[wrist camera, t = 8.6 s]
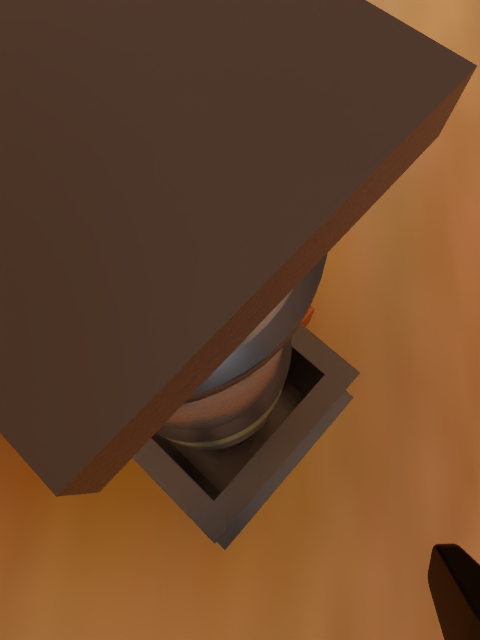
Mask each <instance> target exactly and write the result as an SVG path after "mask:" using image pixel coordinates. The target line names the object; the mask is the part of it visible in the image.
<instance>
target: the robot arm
mask: <svg viewBox="0 0 480 640" xmlns="http://www.w3.org/2000/svg"><path fill="white" fill-rule="evenodd" d="M428 583H429V588H430V591H431V595H432V598H433V602H434V605H435V609H436V612H437V616H438V619H439V623H440V626H441V629H442V633H443V636H444V640H480V565H479V564H478V563H477V562H476V561H475V560H474V559H473V558H472V557H471V556H470V555H469V554H467V553H466V552H465V551H464V550H463V549H462V548H461V547H460V546H458V545H456V544H436V545H435V546H434V547H433V549H432V554H431V559H430V564H429V570H428Z"/></svg>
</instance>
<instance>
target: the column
mask: <svg viewBox="0 0 480 640" xmlns="http://www.w3.org/2000/svg"><path fill="white" fill-rule="evenodd" d="M476 67H477V65H475V64H473V63H472V62H470V61H468V60H466V59H465V58H463V57H461V56H460V55H458V54H456V53H455V52H453V51H451V50H449V49H448V48H446V47H444V46H443V45H441V44H439V43H437V42H436V41H434V40H432V39H431V38H429V37H427V36H426V35H424V34H422V33H420V32H419V31H417V30H415V29H414V28H412V27H410V26H408V25H407V24H405V23H403V22H402V21H400V20H398V19H397V18H395V17H393V16H391V15H390V14H388V13H386V12H385V11H383V10H381V9H379V8H378V7H376V6H374V5H373V4H371V3H369V2H368V1H366V0H0V433H1V434H2V435H3V436H4V437H5V439H6V440H7V441H8V442H9V443H10V444H11V445H12V447H13V448H14V449H15V450H16V451H17V452H18V453H19V455H20V456H21V457H22V458H23V459H24V460H25V461H26V462H27V464H28V465H29V466H30V467H31V468H32V469H33V470H34V472H35V473H36V474H37V475H38V476H39V477H40V478H41V480H42V481H43V482H44V483H45V484H46V485H47V486H48V488H49V489H50V490H51V491H52V492H53V493H54V494H55V496H66V495H76V494H87V493H97V492H100V491H101V490H102V489H103V488H104V487H105V486H106V485H107V484H108V483H109V482H110V480H111V479H112V478H113V477H114V476H115V475H116V474H117V473H118V472H119V471H120V470H121V469H122V468H123V467H124V466H125V465H126V464H127V463H128V462H129V461H130V459H131V458H132V457H133V456H134V455H135V454H136V453H137V452H138V451H139V450H140V449H141V448H142V447H143V446H144V445H145V444H146V443H147V442H148V441H149V440H150V438H151V437H152V436H153V435H154V434H158V435H160V436H162V437H164V438H166V439H168V440H171V441H173V442H175V443H177V444H179V445H182V446H185V447H188V448H192V449H198V450H218V449H223V448H227V447H231V446H234V445H236V444H239V443H241V442H243V441H244V440H246V439H248V438H249V437H251V436H252V435H253V434H255V433H256V432H257V431H258V430H259V429H260V428H261V427H262V426H263V425H264V424H265V423H266V422H267V420H268V419H269V418H270V416H271V414H272V413H273V411H274V409H275V407H276V405H277V402H278V400H279V397H280V394H281V391H282V388H283V385H284V382H285V380H286V377H287V374H288V370H289V366H290V361H291V353H292V346H291V337H292V335H293V334H294V333H295V332H296V330H297V329H298V327H299V325H300V324H301V322H302V320H303V319H304V317H305V315H306V314H307V312H308V310H309V308H310V305H311V303H312V301H313V298H314V296H315V294H316V291H317V288H318V286H319V283H320V280H321V277H322V273H323V269H324V265H325V261H326V258H327V253H328V252H329V251H330V250H331V248H332V247H333V246H334V245H335V244H336V243H337V242H338V241H339V240H340V239H341V238H342V237H343V236H344V235H345V234H346V233H347V232H348V231H349V230H350V229H351V227H352V226H353V225H354V224H355V223H356V222H357V221H358V220H359V219H360V218H361V217H362V216H363V215H364V214H365V213H366V212H367V211H368V210H369V209H370V208H371V206H372V205H373V204H374V203H375V202H376V201H377V200H378V199H379V198H380V197H381V196H382V195H383V194H384V193H385V192H386V191H387V190H388V189H389V188H390V187H391V185H392V184H393V183H394V182H395V181H396V180H397V179H398V178H399V177H400V176H401V175H402V174H403V173H404V172H405V171H406V170H407V169H408V168H409V167H410V166H411V164H412V163H413V162H414V161H415V160H416V159H417V158H418V157H419V156H420V155H421V154H422V153H423V152H424V151H425V150H426V149H427V148H428V147H429V146H430V145H431V144H432V142H433V141H434V140H435V139H436V138H437V137H438V136H439V134H440V133H441V131H442V129H443V127H444V125H445V123H446V122H447V120H448V118H449V116H450V114H451V112H452V111H453V109H454V107H455V105H456V103H457V102H458V100H459V98H460V96H461V94H462V92H463V91H464V89H465V87H466V85H467V83H468V81H469V80H470V78H471V76H472V74H473V72H474V71H475V69H476Z"/></svg>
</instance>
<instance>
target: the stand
mask: <svg viewBox="0 0 480 640" xmlns="http://www.w3.org/2000/svg"><path fill="white" fill-rule="evenodd" d="M313 312H314V308H313V307H312V306H310V308H309V310H308V312H307V314H306V315H305V317H304V319H303V320H302V322H301V324H300V325H299V327H298V329H297V330H296V332H295V333H294V334H293V335H292V337H291V346H292V353H291V361H290V366H289V370H288V374H287V377H286V380H285V382H284V385H283V388H282V391H281V394H280V397H279V400H278V402H277V405H276V407H275V409H274V411H273V413H272V414H271V416H270V418H269V419H268V420H267V422H266V423H265V424H264V425H263V426H262V427H261V428H260V429H259V430H258V431H257V432H256V433H255V434H253V435H252V436H251V437H249V438H248V439H246V440H244V441H243V442H241V443H239V444H236V445H234V446H231V447H227V448H223V449H218V450H198V449H192V448H188V447H185V446H182V445H179V444H177V443H175V442H173V441H171V440H168V439H166V438H164V437H162V436H160V435H158V434H154V435H153V436H152V437H151V438H150V440H149V441H148V442H147V443H146V444H145V445H144V446H143V447H142V448H141V449H140V450H139V451H138V452H137V453H136V454H135V455H134V456H133V457H132V458H133V459H134V460H135V461H136V462H137V463H138V464H139V465H140V466H141V467H142V468H143V469H144V470H145V471H146V472H147V473H148V474H149V475H150V477H151V478H152V479H153V480H154V481H155V482H156V483H157V484H158V485H159V486H160V487H161V488H162V489H163V490H164V491H165V492H166V493H167V494H168V495H169V496H170V497H171V498H172V499H173V501H174V502H175V503H176V504H177V505H178V506H179V507H180V508H181V509H182V510H183V511H184V512H185V513H186V514H187V515H188V516H189V517H190V518H191V519H192V520H193V521H194V522H195V523H196V524H197V526H198V527H199V528H200V529H201V530H202V531H203V532H204V533H205V534H206V535H207V536H208V537H209V538H210V539H211V540H212V541H213V542H214V543H215V542H216V541H217V542H218V543H219V544H220V545H221V546H222V547H223V549H224V550H225V549H226V548H227V547H228V546H229V545H230V543H231V542H232V541H233V540H234V539H235V537H236V536H237V535H238V534H239V533H240V532H241V530H242V529H243V528H244V527H245V526H246V524H247V523H248V522H249V521H250V520H251V518H252V517H253V516H254V515H255V514H256V513H257V511H258V510H259V509H260V508H261V507H262V505H263V504H264V503H265V502H266V501H267V499H268V498H269V497H270V496H271V495H272V494H273V492H274V491H275V490H276V489H277V488H278V486H279V485H280V484H281V483H282V482H283V481H284V479H285V478H286V477H287V476H288V475H289V473H290V472H291V471H292V470H293V469H294V467H295V466H296V465H297V464H298V463H299V462H300V460H301V459H302V458H303V457H304V456H305V454H306V453H307V452H308V451H309V450H310V448H311V447H312V446H313V445H314V444H315V443H316V441H317V440H318V439H319V438H320V437H321V435H322V434H323V433H324V432H325V431H326V430H327V428H328V427H329V426H330V425H331V424H332V422H333V421H334V420H335V419H336V418H337V416H338V415H339V414H340V413H341V412H342V411H343V409H344V408H345V407H346V406H347V405H348V403H349V402H350V401H351V400H352V399H353V397H352V396H351V395H350V394H349V393H348V392H347V391H345V390H346V389H347V388H348V386H349V385H350V384H351V383H352V382H353V381H354V379H355V378H356V377H357V376H358V375H359V372H358V371H357V370H356V369H355V368H353V367H352V366H351V365H350V364H349V363H347V362H346V361H345V360H344V359H343V358H341V357H340V356H339V355H338V354H337V353H335V352H334V351H333V350H332V349H331V348H329V347H328V346H327V345H326V344H325V343H323V342H322V341H321V340H320V339H319V338H317V337H316V336H315V335H314V334H313V333H311V332H310V331H309V330H308V329H307V328H305V327H306V326H307V325H308V323H309V322H310V320H311V317H312V314H313Z"/></svg>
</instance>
